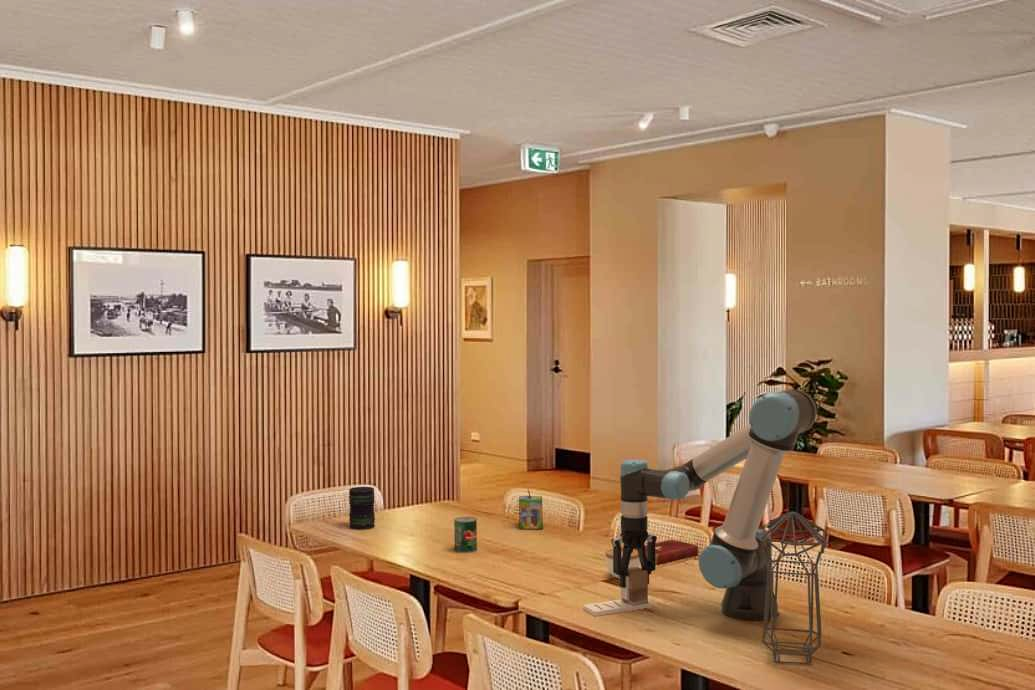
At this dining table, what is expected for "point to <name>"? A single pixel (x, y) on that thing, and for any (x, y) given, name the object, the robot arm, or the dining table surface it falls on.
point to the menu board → (613, 607)
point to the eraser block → (637, 586)
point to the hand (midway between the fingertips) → (634, 597)
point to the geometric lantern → (770, 574)
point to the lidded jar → (609, 559)
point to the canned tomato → (465, 534)
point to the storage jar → (361, 508)
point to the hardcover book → (673, 551)
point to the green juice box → (530, 512)
